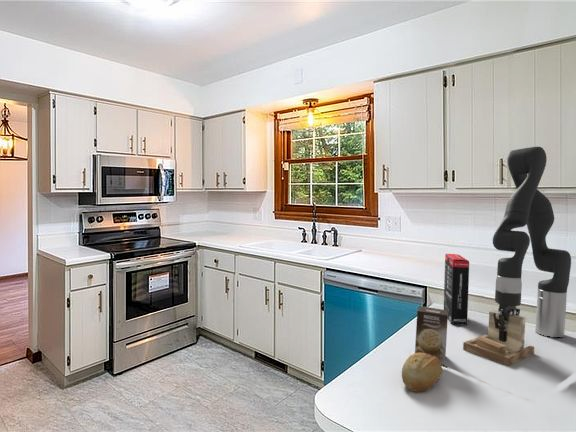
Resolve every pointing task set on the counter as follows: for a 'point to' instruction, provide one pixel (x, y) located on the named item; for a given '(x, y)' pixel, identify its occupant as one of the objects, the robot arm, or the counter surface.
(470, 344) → the rack
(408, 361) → the bread roll
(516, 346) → the tall beige block
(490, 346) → the slat top
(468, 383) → the counter surface
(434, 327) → the coffee box
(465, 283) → the graphics card box
